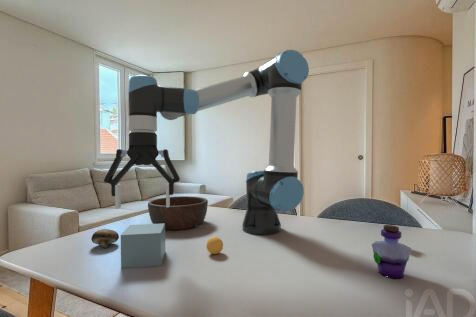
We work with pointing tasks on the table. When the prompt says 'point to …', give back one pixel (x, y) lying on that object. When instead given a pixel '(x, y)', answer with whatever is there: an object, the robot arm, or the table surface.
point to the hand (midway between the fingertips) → (143, 207)
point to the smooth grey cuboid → (143, 245)
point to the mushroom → (104, 237)
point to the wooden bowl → (178, 212)
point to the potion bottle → (391, 253)
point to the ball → (214, 245)
